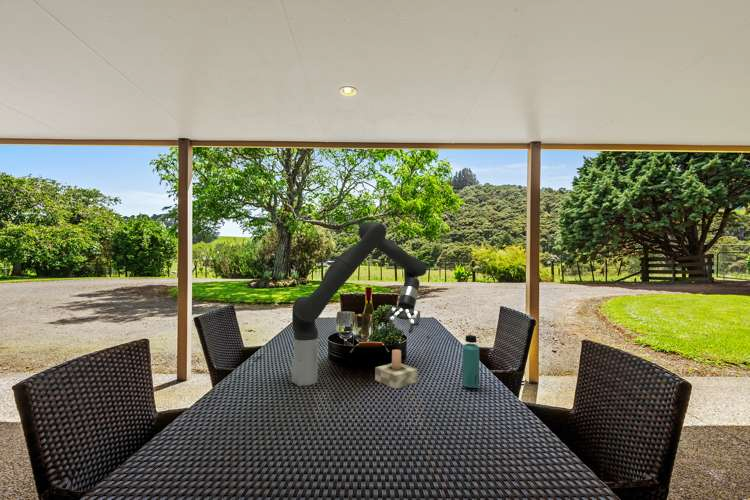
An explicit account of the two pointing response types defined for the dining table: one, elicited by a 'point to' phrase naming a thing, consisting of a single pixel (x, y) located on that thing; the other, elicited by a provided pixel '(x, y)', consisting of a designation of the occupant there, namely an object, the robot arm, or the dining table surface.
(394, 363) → the peg
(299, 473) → the dining table surface
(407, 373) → the socket
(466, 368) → the beverage bottle
